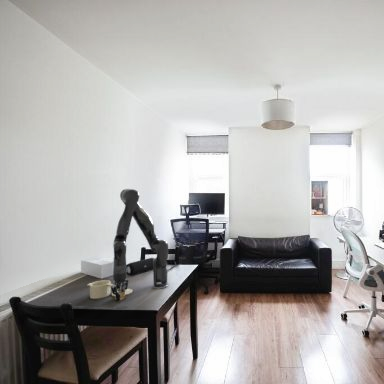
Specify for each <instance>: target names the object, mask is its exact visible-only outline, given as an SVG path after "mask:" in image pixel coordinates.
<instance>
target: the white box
mask: <svg viewBox="0 0 384 384" xmlns="http://www.w3.org/2000/svg"><path fill="white" fill-rule="evenodd" d="M113 267H114V261H112V260H107V259H104V258H103V259H102V258H99V257H89V258H84V259H80V273H81V274H84V275H88V276H90V277H94V278H98V279H101V280H103V279H105V278H108V277H109V278H110V277H113Z"/></svg>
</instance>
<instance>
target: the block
mask: <svg viewBox="0 0 384 384" xmlns="http://www.w3.org/2000/svg"><path fill="white" fill-rule="evenodd" d="M114 297H115V298H114V300H115V301H117V300H116V295H115V296H114ZM125 298H126V295H125V292H120V300H119V301H122V300H124V299H125Z"/></svg>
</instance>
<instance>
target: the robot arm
mask: <svg viewBox="0 0 384 384" xmlns="http://www.w3.org/2000/svg"><path fill="white" fill-rule="evenodd" d="M119 197H120V201H121V202H122V203H123V204H124V210H123V212H122V214H121V216H120V218H119V220H118V223H117V227H116V231H115V232H116V233H115V236H114V239H113V243H112V248H113V262H114V267H113V276H112V280H113V281H114V283H113V286H111V294H112V293H113V295H116V300H115V301H121V300H120V291H121V292H125V290H127V289H128V288H129V287H128V286H129V279H127V278H128V275H127V266H126V265H127V238H128V236H129V232H130V228H131V223H132V219H133V220H134V221H135V223H136V225H137V227H138V228H139V230H140V231H141V233H142V235H143V236H144V238H145V239H146V241H147V243H148V246H149V248H150V250H151V251H152V252H153V253H156V257H153V258H154V259H153V269H152V270H153V272H152V276H153V278H152V279H153V280H152V281H153V282H152V283H153V284H152V285H153V286H152V287H153V288H154V289H159V290H160V289H165V288H167V287H168V285H169V284H168V283H169V281H168V271H170V270H171V269H173V268H175V267H176V266H177V263H176V261H173V262H174V263H173V264H174V265H173V266H172V267H170V268H168V258H169V243H168V241H167V240H164V239H159V237H158V236H157V235H156V232H155V223H154V222H153V221H154V220H152V217H151V216H150V215H149V213H148V212H147V211H146V210H145V209H144V208H143V207H142V206H141V205H140V204H139V201H140V193H139V191H138V190H137V189H133V188H124V189H122V190H121V191H120V194H119ZM117 291H118V292H117Z"/></svg>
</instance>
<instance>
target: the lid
mask: <svg viewBox="0 0 384 384" xmlns="http://www.w3.org/2000/svg"><path fill="white" fill-rule="evenodd" d="M117 292H118V291H117ZM120 292H121V291H120ZM132 293H133V289H132V288H127V290H125V296H128V295H130V294H132ZM111 296H112V297H115V295H113V293H112V292H111Z"/></svg>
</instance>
